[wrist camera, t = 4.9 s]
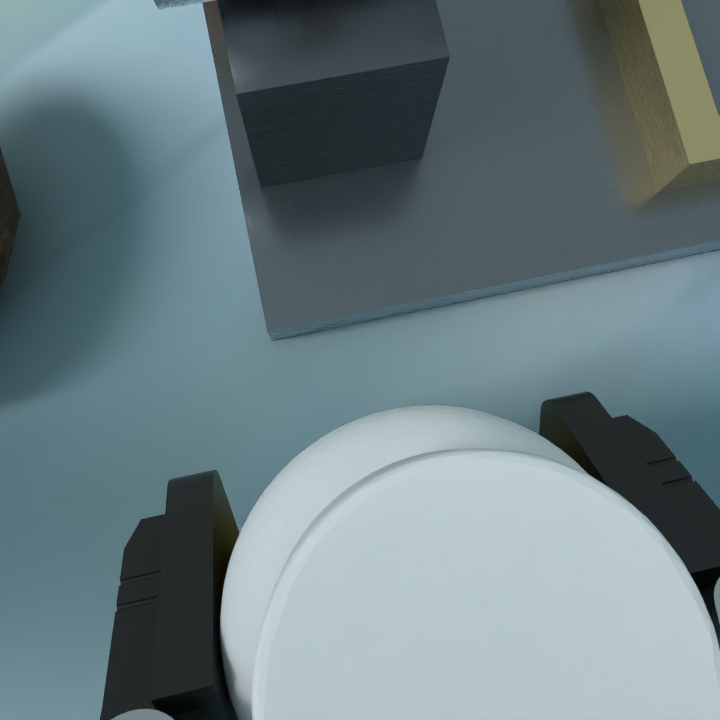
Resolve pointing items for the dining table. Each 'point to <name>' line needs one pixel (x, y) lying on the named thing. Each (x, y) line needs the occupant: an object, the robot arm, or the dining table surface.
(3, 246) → the brown rough round lump
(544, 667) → the supplement bottle
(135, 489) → the dining table surface
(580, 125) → the shaft bench
